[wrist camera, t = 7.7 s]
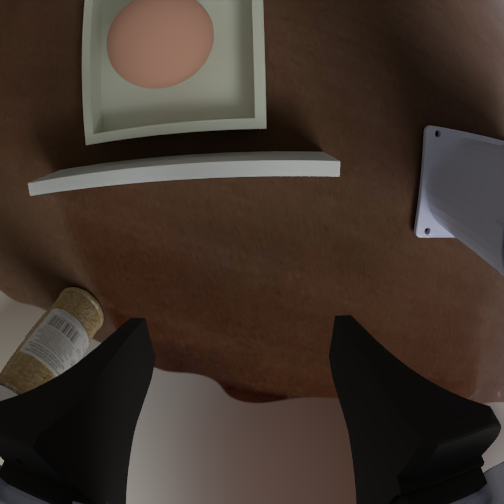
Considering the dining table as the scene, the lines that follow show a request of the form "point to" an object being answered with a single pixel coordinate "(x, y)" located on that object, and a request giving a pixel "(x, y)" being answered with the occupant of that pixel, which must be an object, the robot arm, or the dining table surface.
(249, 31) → the tray
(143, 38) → the ball
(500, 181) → the robot arm
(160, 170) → the acrylic wall
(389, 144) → the dining table surface
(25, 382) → the spice bottle
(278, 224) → the dining table surface
